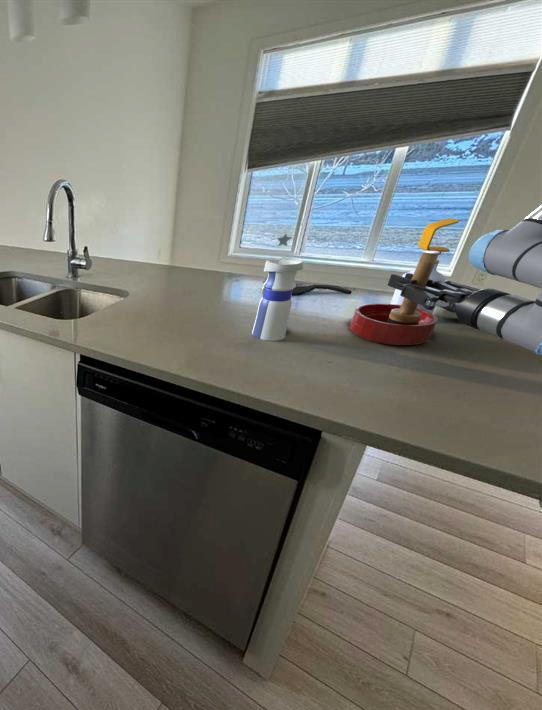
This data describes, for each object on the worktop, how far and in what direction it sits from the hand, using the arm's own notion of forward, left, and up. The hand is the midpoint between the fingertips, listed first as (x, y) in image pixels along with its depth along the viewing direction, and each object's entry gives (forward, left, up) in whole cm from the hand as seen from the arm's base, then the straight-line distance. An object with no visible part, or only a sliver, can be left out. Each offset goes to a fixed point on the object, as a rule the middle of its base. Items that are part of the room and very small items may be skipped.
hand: (398, 279), depth 97 cm
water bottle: (+24, +14, -13) cm, 31 cm away
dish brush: (-3, +4, -11) cm, 12 cm away
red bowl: (-1, +3, -13) cm, 13 cm away
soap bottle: (-6, -13, -13) cm, 19 cm away
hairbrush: (+19, -26, -13) cm, 34 cm away
